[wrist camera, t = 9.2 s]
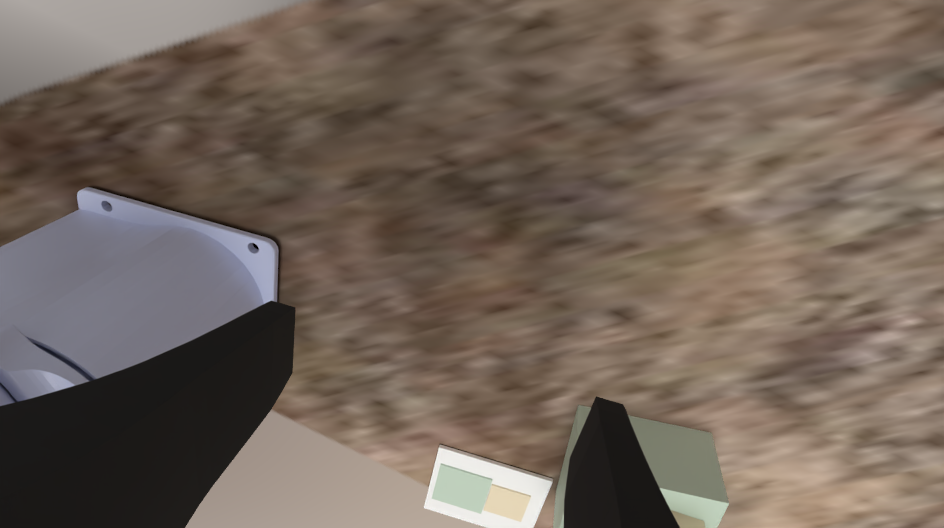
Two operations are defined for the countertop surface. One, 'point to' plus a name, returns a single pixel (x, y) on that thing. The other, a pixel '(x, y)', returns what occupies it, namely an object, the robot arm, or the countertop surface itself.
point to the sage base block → (667, 468)
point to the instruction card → (485, 490)
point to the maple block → (687, 521)
